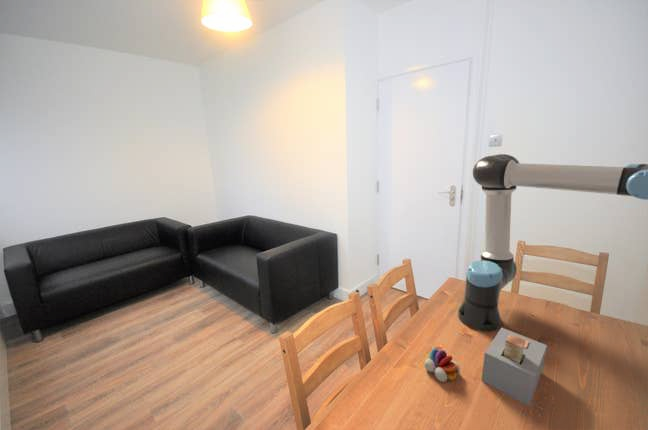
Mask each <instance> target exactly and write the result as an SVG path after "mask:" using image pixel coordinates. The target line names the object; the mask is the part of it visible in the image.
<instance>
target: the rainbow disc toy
mask: <svg viewBox="0 0 648 430" xmlns="http://www.w3.org/2000/svg"><path fill="white" fill-rule="evenodd" d="M424 368H425V369H426V371H427V372H430V373H434V376H435V377H436V380H438V381H439V382H443V383H445V382H447V380H451V381H452V380H456V379H457V375H459V374H460V372H461V368H460V365H459V364H458V362H456V360H455V361H454V360H453V356H452V355H447V352H446V351H445V349H444V350H443V349H437V348H432V349H430V353H429V355H428V357H427V358H426V359H425V361H424Z"/></svg>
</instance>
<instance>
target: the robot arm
mask: <svg viewBox="0 0 648 430" xmlns="http://www.w3.org/2000/svg"><path fill="white" fill-rule="evenodd" d="M472 177H473V179H474V181H475V182H476V183H477V184H478V185H479V186H480V187H481V190H482V191H483V192H484V193H485V230H484V231H485V232H484V234H485V235H484V236H485V237H484V238H485V241H484V250H482V251H481V252H480V260H475V261H473V262H471V263H470V264H469V265H468V267H467V270H466V273H465V274H466V276H465V277H466V278H465V287H464V288H465V289H464V298H463V300H462V302H461V304H460V305H459V307H458V311H457V317H458V319H459V321H460V322H462V324H464V325H465V326H467V327H470V328H472V329H474V330H478V331H482V332H495V331H497V330H500V329H501V326H502V325H501V322H502V318H501V313H500V310H499V300H500V293H501V291H502V290H503V289H504V288H505V287H506V286H507V285H508V284H509V283H511V282H512V281H513V280H514V278H515V277H516V276H517V275H516V274H517V271H518V269H517V264H516V262H515V261H514V260H515V259H514V258H515V257H514V256H515V255H514V254H513V253H512V252H511V251H510V249H511V248H510V245H511V243H510V242H511V216H512V215H511V214H512V194H513V192H515V190H517V187H525V188H536V189H547V190H548V189H549V190H560V191H571V192H581V193H583V192H584V193H593V194H594V193H595V194H606V195H616V196H617V195H618V196H625V197H627V196H628V197H633V198H636V199H640V200H645V201H647V200H648V163H632V164H631V163H629V164H627V165H626V166H625V167H624V166H604V165H603V166H602V165H601V166H599V165H577V164H576V165H573V164H572V165H571V164H547V163H546V164H545V163H524V162H522V163H520V161H519V160H518V158H516V157H515V156H513V155H511V154H507V153H505V154H503V153H502V154H501V153H500V154H495V155H489V156H484V157H482V158H480V159H479V160H478V161H477V162H476V163H475V165H474V166H473V168H472Z"/></svg>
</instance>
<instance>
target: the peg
mask: <svg viewBox="0 0 648 430" xmlns="http://www.w3.org/2000/svg"><path fill="white" fill-rule="evenodd" d="M525 341H526V340H523V339H521V338H518V337H516V336H513V335H511V334H509V336H508V337H507V339H506V343H505V350H504V356H503V357H506V358H508V359H510V360H512V361H514V362H516V363H519V364H521V362H522V356H523V351H524V345H525Z"/></svg>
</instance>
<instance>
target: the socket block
mask: <svg viewBox="0 0 648 430" xmlns="http://www.w3.org/2000/svg"><path fill="white" fill-rule="evenodd" d="M509 334H511V335H513V336H516V337H518V338H521V339H523V340H526V341H525V345H524V351H523V356H522V362H521V364H519V363H516V362H514V361H512V360H510V359H508V358H506V357H503V356H504V350H505V343H506V339H507V337H508V336H509ZM547 347H548V344H546V343H545V344H544V343H542V342H539V341H537V340H534V339H532V338H529V337H526V336H525V335H521V334H519V333H517V332H514V331H512V330H509V329H506V328H504V327H501V326H500V328H499V329H498V332H497V334H496V335H495V336H494V338H493V340H492V341H491V342H490V344H489V345H488V347H487V349H486V350H485V352H484V358H483V366H482V371H481V372H482V373H481V378H480V379H481V380H480V381H481V382H483V383H485V384H486V385H489V386H490V387H493V388H495V389H497V390H499V391H500V392H502V393H504V394H505V395H507V396H509V397H511V398H513V399H514V400H517V401H519V402H521V403H523V404H524V405H526V406H527V407H530V406H531V403H532V401H533V398H534V395H535V392H536V389H537V387H538V384H539V382H540V378H541V377H542V376H541V375H542V373H543V368H544V363H545V359H546V358H545V357H546V353H547Z"/></svg>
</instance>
